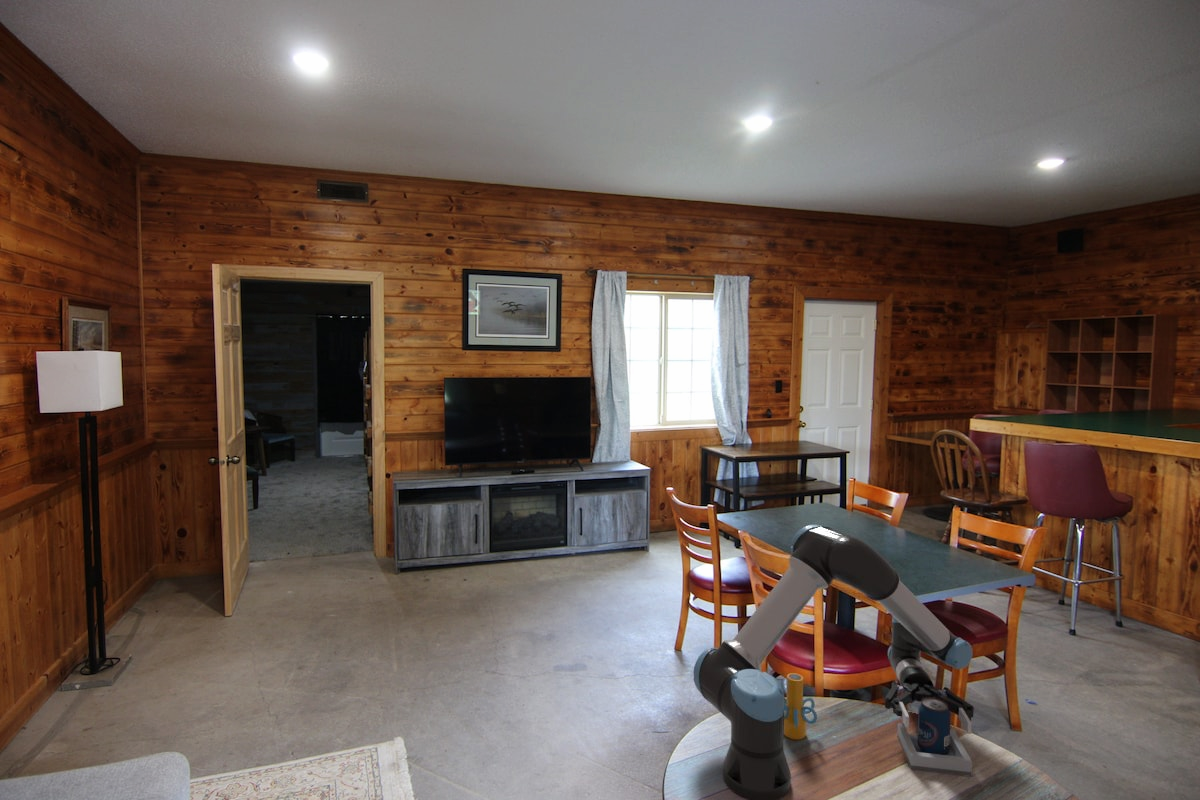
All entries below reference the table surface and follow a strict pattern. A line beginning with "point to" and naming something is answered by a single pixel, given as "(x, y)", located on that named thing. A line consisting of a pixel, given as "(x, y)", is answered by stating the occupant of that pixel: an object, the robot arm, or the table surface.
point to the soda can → (933, 726)
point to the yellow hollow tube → (796, 708)
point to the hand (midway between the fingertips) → (938, 725)
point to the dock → (935, 755)
